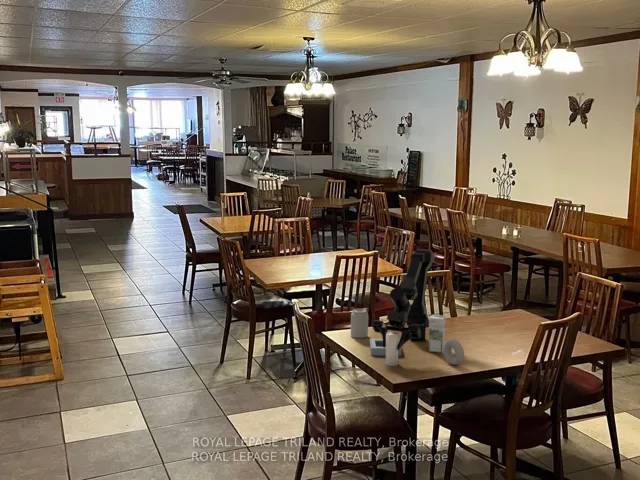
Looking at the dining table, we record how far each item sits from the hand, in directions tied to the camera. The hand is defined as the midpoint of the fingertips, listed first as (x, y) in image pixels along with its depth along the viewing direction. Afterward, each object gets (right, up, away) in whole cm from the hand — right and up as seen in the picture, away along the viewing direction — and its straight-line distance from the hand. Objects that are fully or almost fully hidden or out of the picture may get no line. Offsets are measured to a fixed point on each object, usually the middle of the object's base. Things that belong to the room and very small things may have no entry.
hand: (390, 348), depth 242 cm
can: (-10, -1, +35) cm, 37 cm away
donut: (+24, -7, +2) cm, 25 cm away
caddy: (0, -4, +17) cm, 18 cm away
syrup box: (+21, -4, +18) cm, 27 cm away
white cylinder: (+1, -6, +2) cm, 7 cm away
